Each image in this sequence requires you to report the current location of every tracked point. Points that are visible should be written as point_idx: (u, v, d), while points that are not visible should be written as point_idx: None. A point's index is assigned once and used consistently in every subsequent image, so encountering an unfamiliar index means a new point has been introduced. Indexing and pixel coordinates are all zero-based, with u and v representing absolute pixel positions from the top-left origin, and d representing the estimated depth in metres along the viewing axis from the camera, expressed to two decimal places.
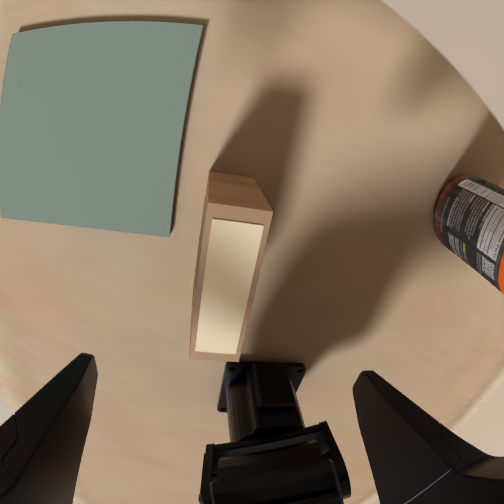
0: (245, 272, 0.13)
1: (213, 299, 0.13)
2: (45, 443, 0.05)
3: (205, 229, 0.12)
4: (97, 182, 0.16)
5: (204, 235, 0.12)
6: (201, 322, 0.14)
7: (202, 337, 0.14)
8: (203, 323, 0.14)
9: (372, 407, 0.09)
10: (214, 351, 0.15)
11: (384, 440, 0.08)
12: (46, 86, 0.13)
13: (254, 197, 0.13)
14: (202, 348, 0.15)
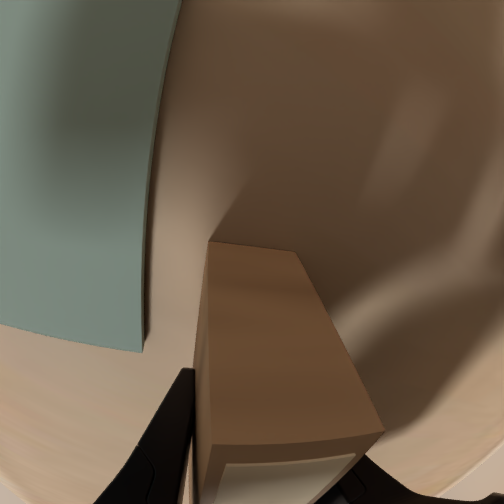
0: (295, 501, 0.05)
1: None
2: (182, 469, 0.05)
3: (208, 475, 0.04)
4: (10, 260, 0.07)
5: (207, 480, 0.04)
6: None
7: None
8: None
9: None
10: None
11: None
12: None
13: (324, 358, 0.05)
14: None
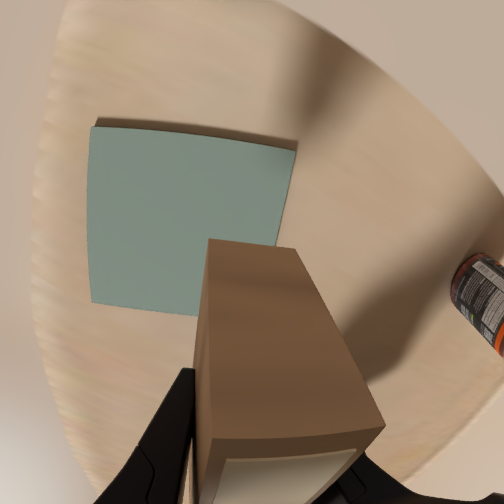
0: (296, 498, 0.05)
1: None
2: (183, 469, 0.05)
3: (209, 470, 0.04)
4: (198, 281, 0.20)
5: (207, 476, 0.04)
6: None
7: None
8: None
9: None
10: None
11: None
12: (142, 193, 0.17)
13: (324, 353, 0.05)
14: None
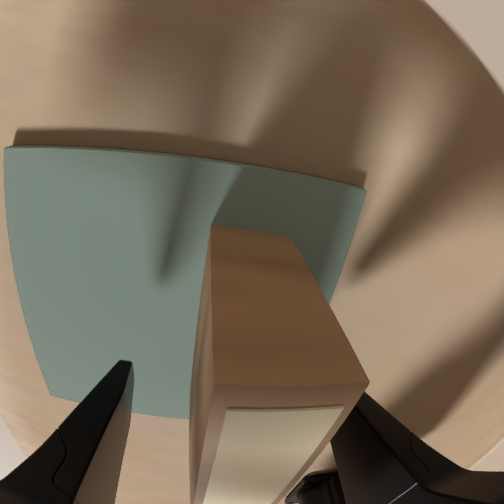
0: (290, 463, 0.06)
1: (228, 488, 0.06)
2: (96, 457, 0.05)
3: (210, 423, 0.05)
4: None
5: (208, 430, 0.05)
6: (207, 501, 0.06)
7: None
8: (211, 502, 0.06)
9: None
10: None
11: (351, 446, 0.08)
12: (93, 263, 0.09)
13: (314, 320, 0.06)
14: None
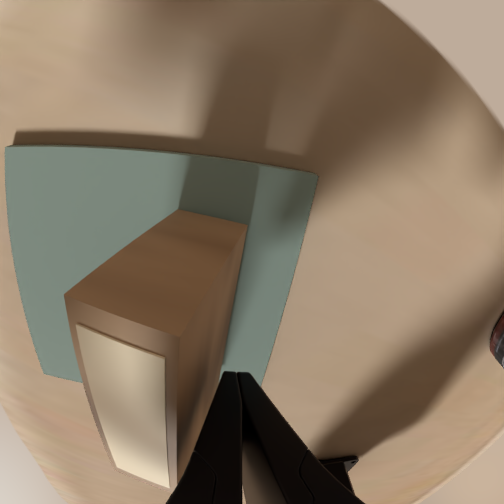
0: (151, 416, 0.06)
1: (116, 430, 0.07)
2: None
3: (73, 337, 0.06)
4: None
5: (75, 345, 0.06)
6: (112, 445, 0.07)
7: (119, 459, 0.08)
8: (114, 447, 0.07)
9: None
10: (140, 476, 0.08)
11: (246, 455, 0.07)
12: (80, 245, 0.11)
13: (185, 282, 0.07)
14: (124, 468, 0.08)
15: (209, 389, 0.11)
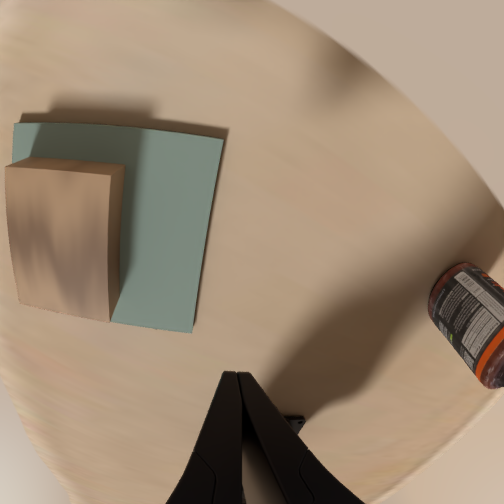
0: None
1: None
2: None
3: None
4: (123, 287, 0.17)
5: None
6: None
7: None
8: None
9: None
10: None
11: (246, 455, 0.07)
12: None
13: (35, 165, 0.12)
14: None
15: (68, 280, 0.14)
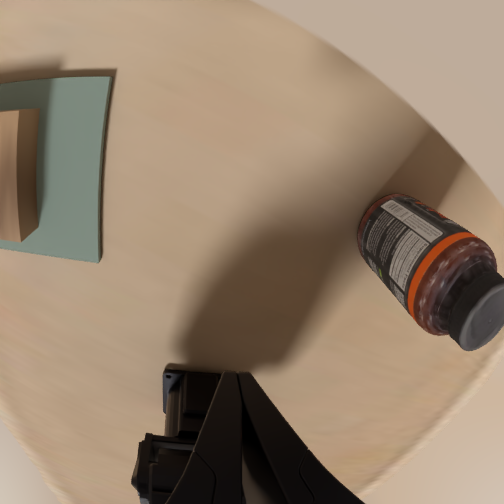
0: None
1: None
2: None
3: None
4: (40, 217, 0.17)
5: None
6: None
7: None
8: None
9: None
10: None
11: (247, 455, 0.07)
12: None
13: None
14: None
15: None
